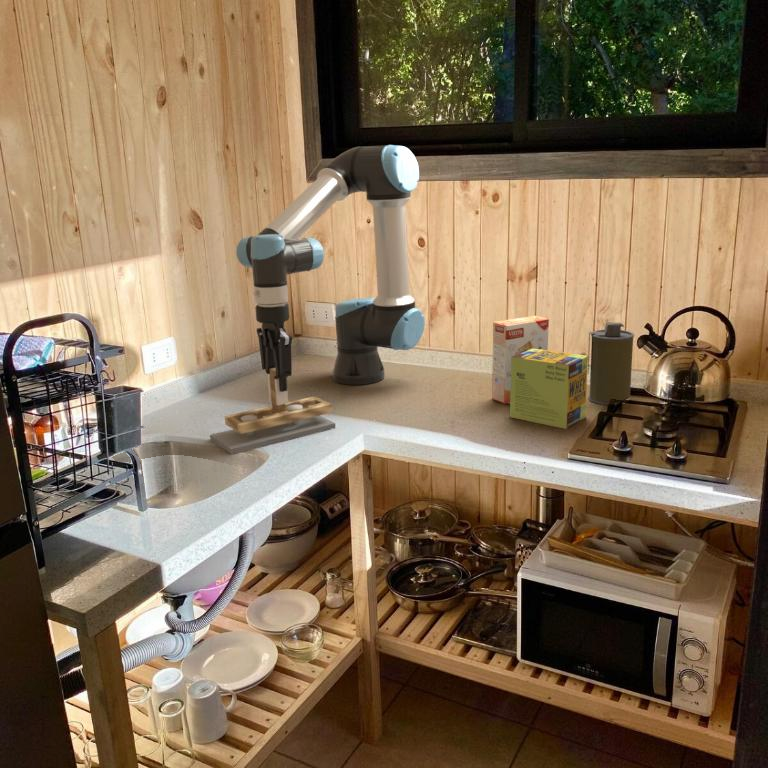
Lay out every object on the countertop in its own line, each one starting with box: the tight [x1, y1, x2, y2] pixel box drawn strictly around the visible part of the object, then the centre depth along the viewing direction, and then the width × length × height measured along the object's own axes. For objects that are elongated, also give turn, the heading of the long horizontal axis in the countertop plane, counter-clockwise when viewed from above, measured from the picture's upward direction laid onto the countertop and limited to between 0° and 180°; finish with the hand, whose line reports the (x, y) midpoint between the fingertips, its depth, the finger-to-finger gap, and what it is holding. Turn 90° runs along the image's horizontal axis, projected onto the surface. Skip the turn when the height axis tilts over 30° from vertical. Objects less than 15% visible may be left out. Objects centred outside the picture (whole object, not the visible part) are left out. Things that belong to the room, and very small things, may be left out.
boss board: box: [209, 405, 336, 455], centre depth 189 cm, size 27×12×5 cm, turn 125°
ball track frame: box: [224, 368, 333, 434], centre depth 188 cm, size 24×9×12 cm, turn 125°
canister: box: [587, 321, 635, 406], centre depth 203 cm, size 11×10×20 cm
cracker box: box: [491, 315, 550, 405], centre depth 207 cm, size 14×6×21 cm, turn 119°
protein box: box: [509, 349, 588, 429], centre depth 192 cm, size 10×15×16 cm
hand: (278, 401), depth 188 cm, fingers closed on ball track frame, 3 cm apart
